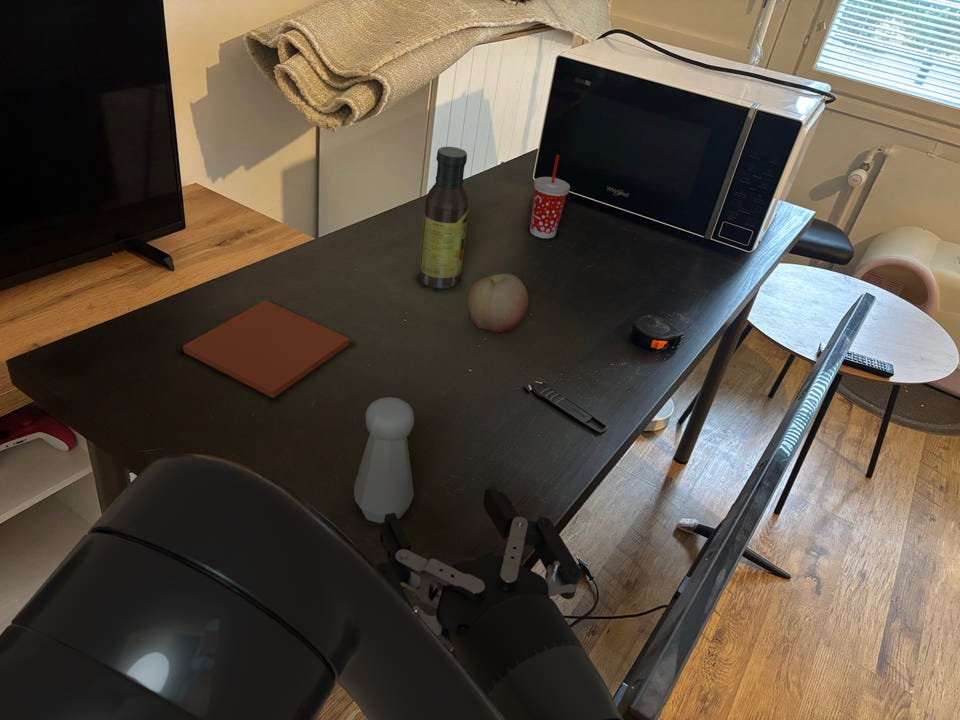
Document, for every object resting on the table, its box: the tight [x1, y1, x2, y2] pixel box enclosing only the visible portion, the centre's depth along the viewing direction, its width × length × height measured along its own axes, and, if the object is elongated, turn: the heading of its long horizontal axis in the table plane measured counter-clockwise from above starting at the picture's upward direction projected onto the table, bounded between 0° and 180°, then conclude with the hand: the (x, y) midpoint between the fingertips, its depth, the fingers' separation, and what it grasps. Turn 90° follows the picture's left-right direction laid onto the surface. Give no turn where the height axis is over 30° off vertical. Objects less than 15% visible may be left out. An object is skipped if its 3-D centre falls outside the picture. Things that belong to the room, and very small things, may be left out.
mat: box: [182, 299, 350, 399], centre depth 91 cm, size 14×14×1 cm
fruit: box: [466, 272, 529, 334], centre depth 100 cm, size 8×8×8 cm
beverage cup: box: [529, 154, 571, 239], centre depth 125 cm, size 6×6×14 cm
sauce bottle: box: [419, 146, 470, 290], centre depth 105 cm, size 6×6×20 cm
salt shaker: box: [353, 396, 415, 525], centre depth 69 cm, size 6×6×13 cm
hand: (439, 507), depth 58 cm, fingers open, 8 cm apart
